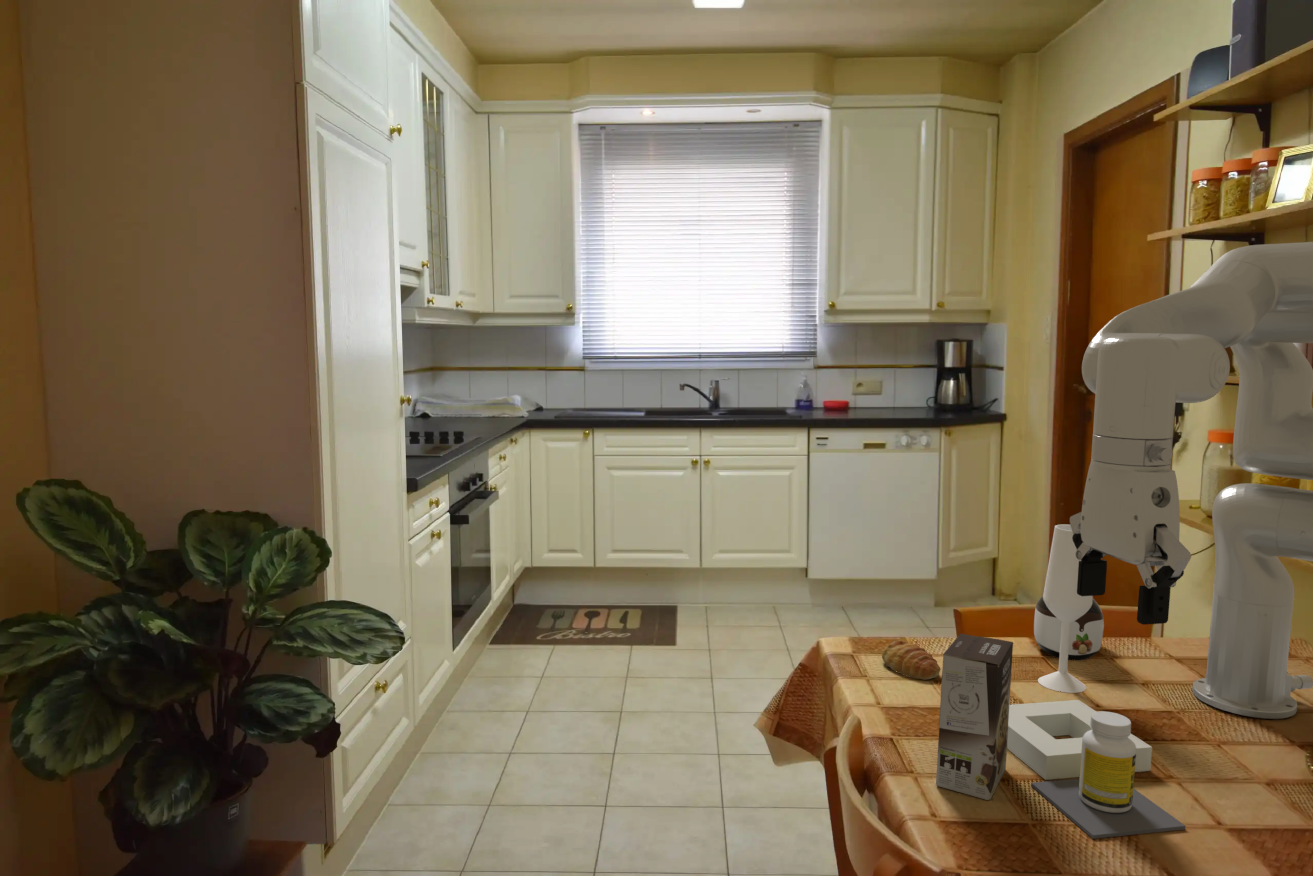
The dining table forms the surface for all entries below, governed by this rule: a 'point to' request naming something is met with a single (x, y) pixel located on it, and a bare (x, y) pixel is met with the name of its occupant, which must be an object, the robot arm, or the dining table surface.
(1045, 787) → the mat
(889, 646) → the pastry
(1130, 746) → the supplement bottle
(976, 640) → the coffee box
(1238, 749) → the dining table surface
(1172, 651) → the dining table surface
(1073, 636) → the spread jar
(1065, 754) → the socket block
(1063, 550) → the champagne flute
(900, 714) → the dining table surface
